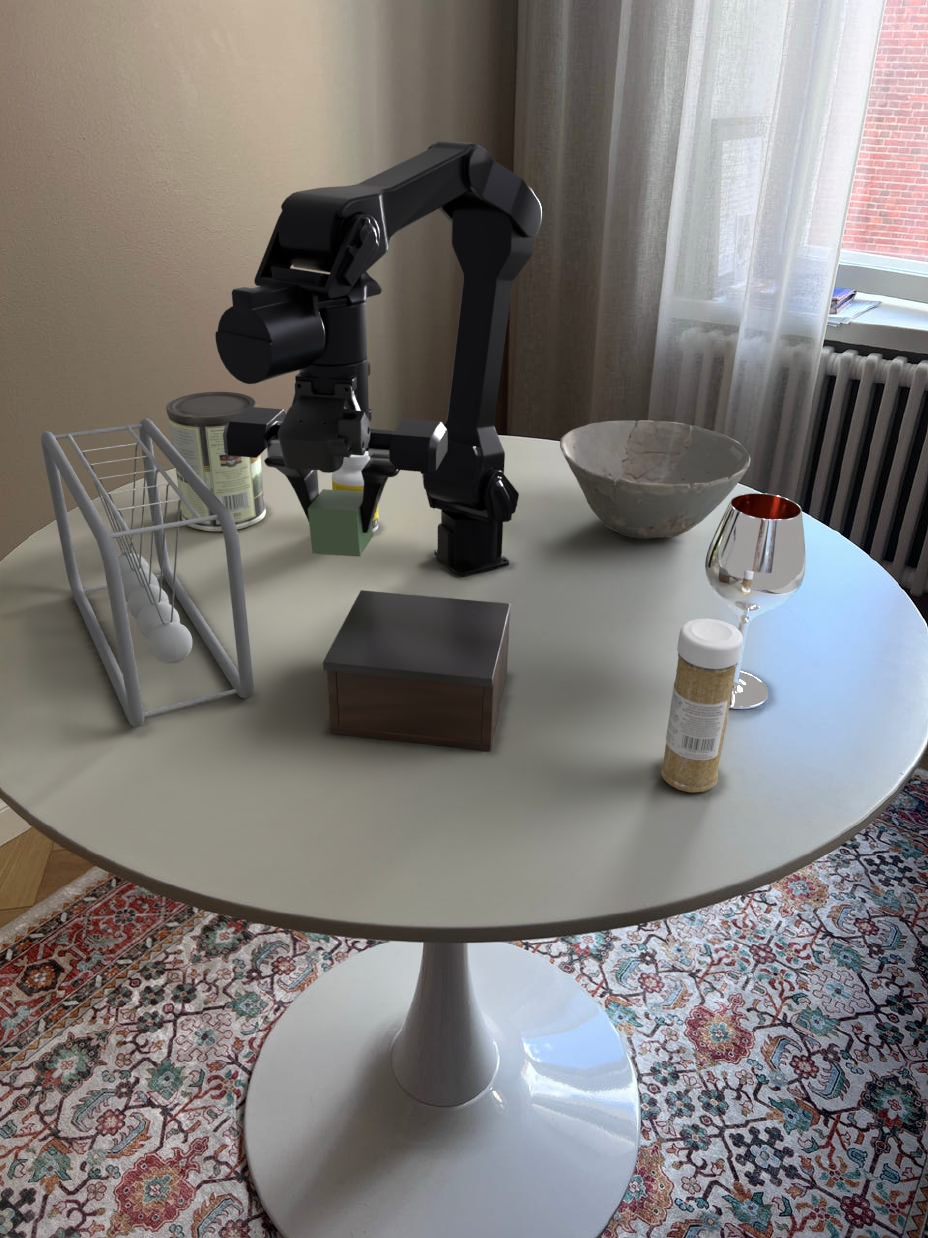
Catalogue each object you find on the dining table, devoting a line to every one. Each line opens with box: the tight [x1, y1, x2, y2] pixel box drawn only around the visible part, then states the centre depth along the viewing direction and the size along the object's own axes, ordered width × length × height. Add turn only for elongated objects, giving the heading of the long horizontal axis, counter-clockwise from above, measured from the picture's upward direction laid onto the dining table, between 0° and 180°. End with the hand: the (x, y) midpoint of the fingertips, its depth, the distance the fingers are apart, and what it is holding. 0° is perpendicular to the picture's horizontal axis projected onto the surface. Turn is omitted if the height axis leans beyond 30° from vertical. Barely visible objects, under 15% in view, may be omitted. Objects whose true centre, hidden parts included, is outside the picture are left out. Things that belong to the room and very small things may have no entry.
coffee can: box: [165, 391, 267, 533], centre depth 118 cm, size 10×10×14 cm
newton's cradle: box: [40, 418, 254, 728], centre depth 91 cm, size 30×10×18 cm, turn 29°
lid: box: [322, 589, 511, 687], centre depth 83 cm, size 12×14×1 cm
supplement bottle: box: [331, 451, 379, 533], centre depth 117 cm, size 5×5×10 cm
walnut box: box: [326, 613, 511, 752], centre depth 85 cm, size 12×14×7 cm
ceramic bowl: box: [559, 419, 751, 539], centre depth 119 cm, size 22×23×10 cm
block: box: [308, 488, 374, 558], centre depth 90 cm, size 4×4×4 cm
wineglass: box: [704, 492, 806, 710], centre depth 86 cm, size 8×8×18 cm
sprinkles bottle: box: [660, 618, 743, 793], centre depth 75 cm, size 5×5×14 cm
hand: (340, 528), depth 90 cm, fingers closed on block, 4 cm apart
